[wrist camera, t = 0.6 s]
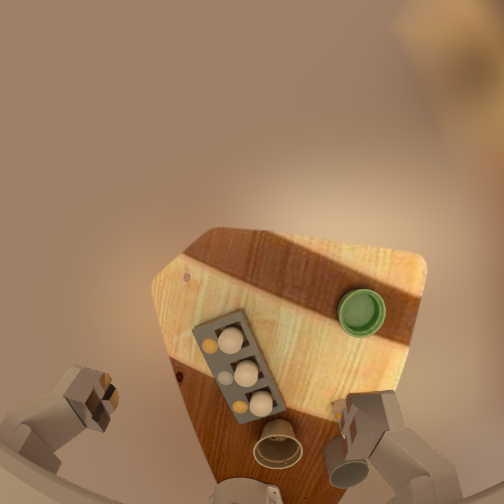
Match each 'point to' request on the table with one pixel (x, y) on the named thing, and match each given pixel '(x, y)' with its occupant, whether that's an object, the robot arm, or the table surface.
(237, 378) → the button
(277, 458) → the flower pot
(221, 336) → the button
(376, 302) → the ramekin
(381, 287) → the table surface
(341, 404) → the walkman
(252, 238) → the table surface
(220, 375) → the board
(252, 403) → the button
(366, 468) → the cup
